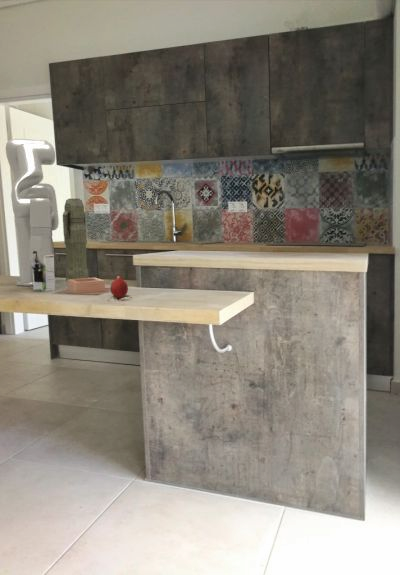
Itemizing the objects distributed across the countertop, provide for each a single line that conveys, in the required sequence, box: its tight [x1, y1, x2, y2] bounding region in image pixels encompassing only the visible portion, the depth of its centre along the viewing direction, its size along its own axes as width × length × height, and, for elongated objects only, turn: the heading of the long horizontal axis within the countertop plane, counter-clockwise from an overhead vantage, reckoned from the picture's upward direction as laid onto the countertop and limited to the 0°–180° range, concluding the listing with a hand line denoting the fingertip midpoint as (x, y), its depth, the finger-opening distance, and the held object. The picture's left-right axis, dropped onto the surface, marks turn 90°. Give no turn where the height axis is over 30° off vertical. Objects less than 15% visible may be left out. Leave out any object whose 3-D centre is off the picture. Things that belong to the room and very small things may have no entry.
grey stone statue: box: [62, 198, 90, 283], centre depth 212 cm, size 9×12×35 cm
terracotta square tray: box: [66, 277, 106, 294], centre depth 194 cm, size 11×11×4 cm
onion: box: [110, 275, 129, 301], centre depth 181 cm, size 6×6×8 cm
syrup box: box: [33, 253, 56, 292], centre depth 198 cm, size 6×6×14 cm
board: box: [51, 287, 111, 296], centre depth 194 cm, size 18×18×1 cm
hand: (44, 280), depth 198 cm, fingers closed on syrup box, 6 cm apart
